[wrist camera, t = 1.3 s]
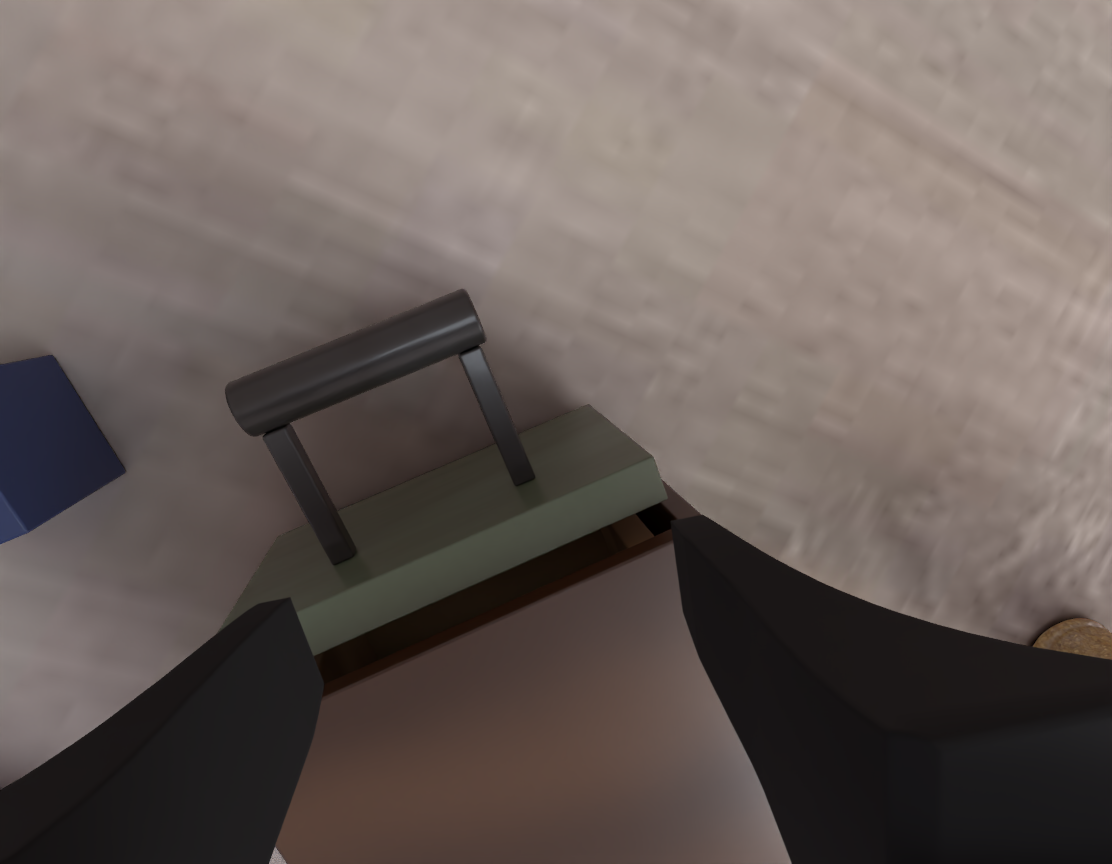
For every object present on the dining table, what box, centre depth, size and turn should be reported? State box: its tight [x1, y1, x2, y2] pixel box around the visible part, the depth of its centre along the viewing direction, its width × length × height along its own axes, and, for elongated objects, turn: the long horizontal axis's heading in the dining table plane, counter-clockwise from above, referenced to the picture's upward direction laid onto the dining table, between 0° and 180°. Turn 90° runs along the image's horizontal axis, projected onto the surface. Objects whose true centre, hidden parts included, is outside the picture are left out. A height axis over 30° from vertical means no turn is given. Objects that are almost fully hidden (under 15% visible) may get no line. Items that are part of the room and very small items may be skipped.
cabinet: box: [275, 479, 792, 864], centre depth 20 cm, size 13×12×8 cm
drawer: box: [218, 289, 668, 684], centre depth 19 cm, size 17×11×7 cm, turn 21°
